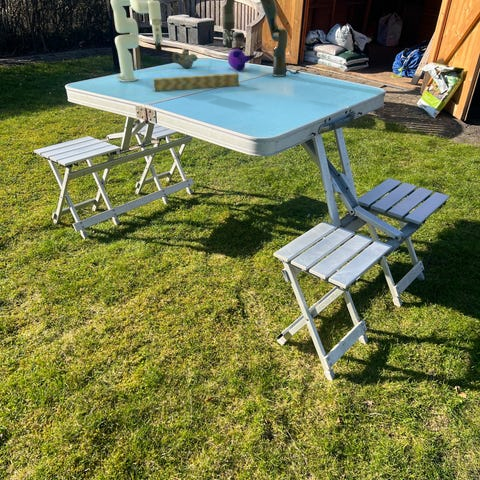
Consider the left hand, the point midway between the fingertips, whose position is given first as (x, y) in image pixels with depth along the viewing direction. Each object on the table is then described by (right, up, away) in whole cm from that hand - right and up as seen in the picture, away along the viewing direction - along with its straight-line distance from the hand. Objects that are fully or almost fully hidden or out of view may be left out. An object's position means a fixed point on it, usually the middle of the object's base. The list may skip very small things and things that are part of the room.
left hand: (158, 50), depth 298 cm
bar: (+24, -18, +18) cm, 35 cm away
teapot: (+7, +22, +88) cm, 91 cm away
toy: (+54, +16, +75) cm, 94 cm away
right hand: (+47, +7, +10) cm, 48 cm away
